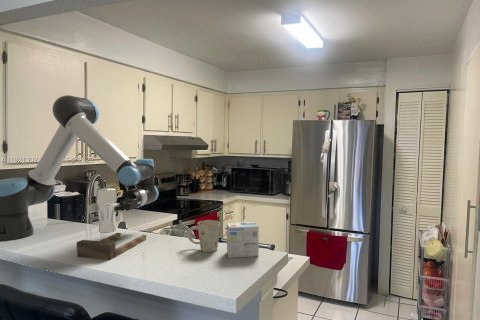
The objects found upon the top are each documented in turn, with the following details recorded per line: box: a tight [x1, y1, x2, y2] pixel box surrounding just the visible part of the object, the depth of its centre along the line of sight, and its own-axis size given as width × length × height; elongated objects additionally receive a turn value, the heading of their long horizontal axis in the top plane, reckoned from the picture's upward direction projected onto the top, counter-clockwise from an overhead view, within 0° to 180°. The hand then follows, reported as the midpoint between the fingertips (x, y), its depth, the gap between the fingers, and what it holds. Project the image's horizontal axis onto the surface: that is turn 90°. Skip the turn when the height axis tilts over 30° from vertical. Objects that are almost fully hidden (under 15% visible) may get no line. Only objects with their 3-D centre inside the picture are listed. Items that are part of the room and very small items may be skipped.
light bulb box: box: [226, 221, 260, 259], centre depth 125 cm, size 11×7×11 cm, turn 100°
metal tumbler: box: [95, 187, 118, 234], centre depth 126 cm, size 7×7×15 cm
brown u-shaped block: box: [76, 232, 147, 261], centre depth 132 cm, size 24×13×5 cm, turn 166°
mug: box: [187, 219, 221, 253], centre depth 130 cm, size 8×13×10 cm, turn 78°
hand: (98, 210), depth 122 cm, fingers closed on metal tumbler, 7 cm apart
